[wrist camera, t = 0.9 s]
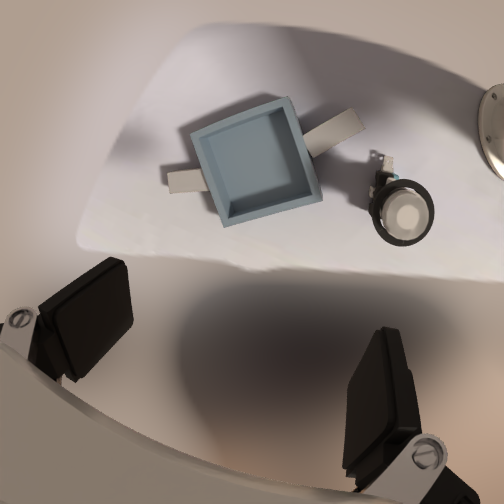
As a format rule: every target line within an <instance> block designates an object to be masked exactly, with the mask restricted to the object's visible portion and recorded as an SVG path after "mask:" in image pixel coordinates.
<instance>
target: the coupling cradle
mask: <svg viewBox="0 0 504 504" xmlns="http://www.w3.org/2000/svg"><path fill="white" fill-rule="evenodd" d="M363 129H365V127H364V125H363V124H362V122H361V121H360V119H359V117H358V116H357V114H356V113H355V111H354V110H353V108H352V107H351V108H349V109H347V110H346V111H344V112H342V113H340V114H339V115H337V116H335V117H333V118H332V119H330V120H328V121H326V122H325V123H323V124H321V125H320V126H318V127H316V128H314V129H313V130H311V131H309V132H308V133H306V134H304V135H303V132H302V129H301V126H300V123H299V120H298V118H297V115H296V112H295V109H294V107H293V104H292V101H291V100H290V98H289V97H288V96H287V97H284V98H281V99H278V100H275V101H272V102H269V103H266V104H263V105H260V106H257V107H254V108H252V109H249V110H246V111H243V112H241V113H238V114H236V115H233V116H231V117H228V118H226V119H223V120H221V121H218V122H216V123H213V124H211V125H209V126H206V127H204V128H202V129H200V130H197V131H195V132H193V133H191V134H190V137H191V140H192V142H193V145H194V148H195V151H196V154H197V156H198V159H199V162H200V165H201V167H202V168H193V169H184V170H176V171H173V172H169V173H167V177H168V185H169V192H170V194H173V193H185V192H199V191H210V192H211V195H212V197H213V200H214V203H215V206H216V208H217V211H218V214H219V216H220V219H221V222H222V224H223V227H224V228H225V227H229V226H232V225H236V224H239V223H243V222H246V221H250V220H253V219H257V218H261V217H264V216H268V215H271V214H275V213H279V212H282V211H286V210H290V209H294V208H297V207H301V206H305V205H309V204H313V203H317V202H320V201H323V195H322V191H321V188H320V185H319V181H318V178H317V175H316V171H315V168H314V165H313V162H312V159H311V156H310V154H311V155H312V157H313V158H315V157H316V156H318V155H320V154H321V153H323V152H325V151H327V150H328V149H330V148H332V147H333V146H335V145H337V144H339V143H340V142H342V141H344V140H346V139H347V138H349V137H351V136H353V135H355V134H356V133H358V132H360V131H362V130H363ZM309 152H310V153H309Z"/></svg>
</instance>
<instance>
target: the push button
mask: <svg viewBox="0 0 504 504" xmlns="http://www.w3.org/2000/svg"><path fill="white" fill-rule="evenodd" d="M388 160H389V162H387V161H388ZM392 165H393V157H389V156H384V162H383V166H381V171H380V170H378V171H376V188H373V187H372V186H371V185H370V190H369V196H370V197H371V198H373V204H372V203H370V204H369V210H368V212H369V214H370V215H371V217H372V220H373V224H374V227H375V229H376V231H377V232H378V234H379V235H380V236H381V238H383V239H384V240H385V241H386V242H388V243H390V244H392V245H395V246H410V245H413V244H415V243H417V242H419V241H420V240H422V239H423V238H424V237H425V236H426V235H427V233H428V232H429V230H430V228H431V226H432V224H433V220H434V204H433V201H432V198H431V196H430V194H429V193H428V191H427V190H426V189H425V188H424V187H423V186H422V185H420V184H419V183H417V182H415V181H412V180H408V179H399V176H398V175H396V174H394V173H393V168H392ZM404 187H407V188H412V189H414V190H415V191H416V192H414V191H412V190H408V189H406V188H404ZM370 191H371V192H370ZM380 219H382V220H383V225H384V227H385V228H386V229H385V228H384V227H383V226H382V224H381V221H380Z"/></svg>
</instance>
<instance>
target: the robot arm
mask: <svg viewBox="0 0 504 504" xmlns="http://www.w3.org/2000/svg"><path fill="white" fill-rule="evenodd" d="M478 126H479V135H480V140H481V144H482V148H483V151H484V154H485V156H486V158H487V160H488V162H489V164H490V166H491V167H492V169H493V170H494V172H495V173H496V174H497V175H498V176H499V177H500V178H501V179H502V180H503V181H504V84H499V85H495V86H493V87H491V88H490V89H489V90H488V91H487V92H486V93H485V95H484V96H483V99H482V101H481V104H480V108H479V116H478ZM38 308H39V311H40V314H39V315H38V316H37V313H36V311H35V310H34V309H33V308H30V307H20V308H17V309H15V310H13V311H12V312H11V313H10V314H9V315H8V316H7V318H6V320H5V323H1V324H0V504H480V499H479V496H478V494H477V493H476V492H475V491H474V490H473V489H472V488H471V487H469V486H468V485H467V484H466V483H465V482H464V481H462V480H461V479H460V478H459V477H458V476H457V475H456V474H455V473H453V472H452V471H451V470H450V469H449V468H448V467H447V466H445V464H446V462H447V456H448V453H447V449H446V446H445V445H444V443H443V442H442V441H441V440H440V439H439V438H438V437H436V436H434V435H432V434H422V429H421V421H420V415H419V408H418V402H417V396H416V391H415V386H414V380H413V375H412V372H411V370H409V369H408V366H407V362H406V357H405V353H404V348H403V344H402V341H401V336H400V332H399V330H398V329H394V328H389V327H382V328H381V330H376V331H375V333H374V335H373V337H372V339H371V341H370V343H369V345H368V347H367V349H366V351H365V353H364V355H363V357H362V359H361V361H360V363H359V365H358V367H357V368H356V370H355V372H354V374H353V376H352V378H351V380H350V382H349V384H348V389H347V413H346V429H345V443H344V453H343V465H342V467H343V469H347V470H346V477H351V478H356V480H355V484H356V487H355V488H354V489H353V490H352V491H351V492H345V491H338V490H331V489H323V488H316V487H308V486H303V485H297V484H291V483H286V482H281V481H277V480H271V479H268V478H263V477H259V476H254V475H251V474H247V473H243V472H240V471H236V470H232V469H229V468H226V467H223V466H220V465H217V464H213V463H210V462H208V461H205V460H202V459H199V458H196V457H194V456H191V455H188V454H186V453H183V452H181V451H178V450H176V449H174V448H171V447H169V446H166V445H164V444H162V443H160V442H158V441H155V440H153V439H151V438H149V437H146V436H145V435H143V434H141V433H139V432H136V431H134V430H133V429H131V428H129V427H127V426H125V425H123V424H121V423H119V422H118V421H116V420H114V419H112V418H110V417H109V416H107V415H105V414H104V413H102V412H100V411H99V410H97V409H95V408H94V407H92V406H90V405H89V404H87V403H86V402H84V401H83V400H81V399H80V398H78V397H76V396H75V395H73V394H72V393H70V392H69V391H68V390H66V389H65V388H64V387H62V386H61V384H62V375H63V374H64V373H65V375H66V377H67V378H69V379H70V380H72V381H73V382H75V383H76V382H77V381H78V379H80V378H83V377H85V376H86V374H87V373H88V372H89V371H90V370H91V369H92V368H93V367H94V366H95V365H96V364H97V363H98V361H99V360H100V359H101V358H102V357H103V356H104V355H105V354H106V353H107V352H108V351H109V350H110V349H111V348H112V347H113V345H114V344H115V343H116V342H117V341H118V340H119V339H120V338H121V337H122V336H123V335H124V334H125V333H126V332H127V331H128V330H129V328H131V326H132V325H133V321H134V318H133V313H132V305H131V297H130V289H129V280H128V270H127V266H126V265H125V263H124V261H123V260H120V259H117V258H114V257H109V258H107V259H105V260H104V261H102V262H101V263H99V264H98V265H96V266H95V267H93V268H92V269H90V270H89V271H87V272H86V273H84V274H83V275H81V276H80V277H79V278H77V279H76V280H74V281H73V282H71V283H70V284H68V285H67V286H66V287H64V288H63V289H61V290H60V291H58V292H57V293H56V294H54V295H53V296H52V297H50V298H49V299H47V300H46V301H45V302H43V303H42V304H41V305H39V306H38Z"/></svg>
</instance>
